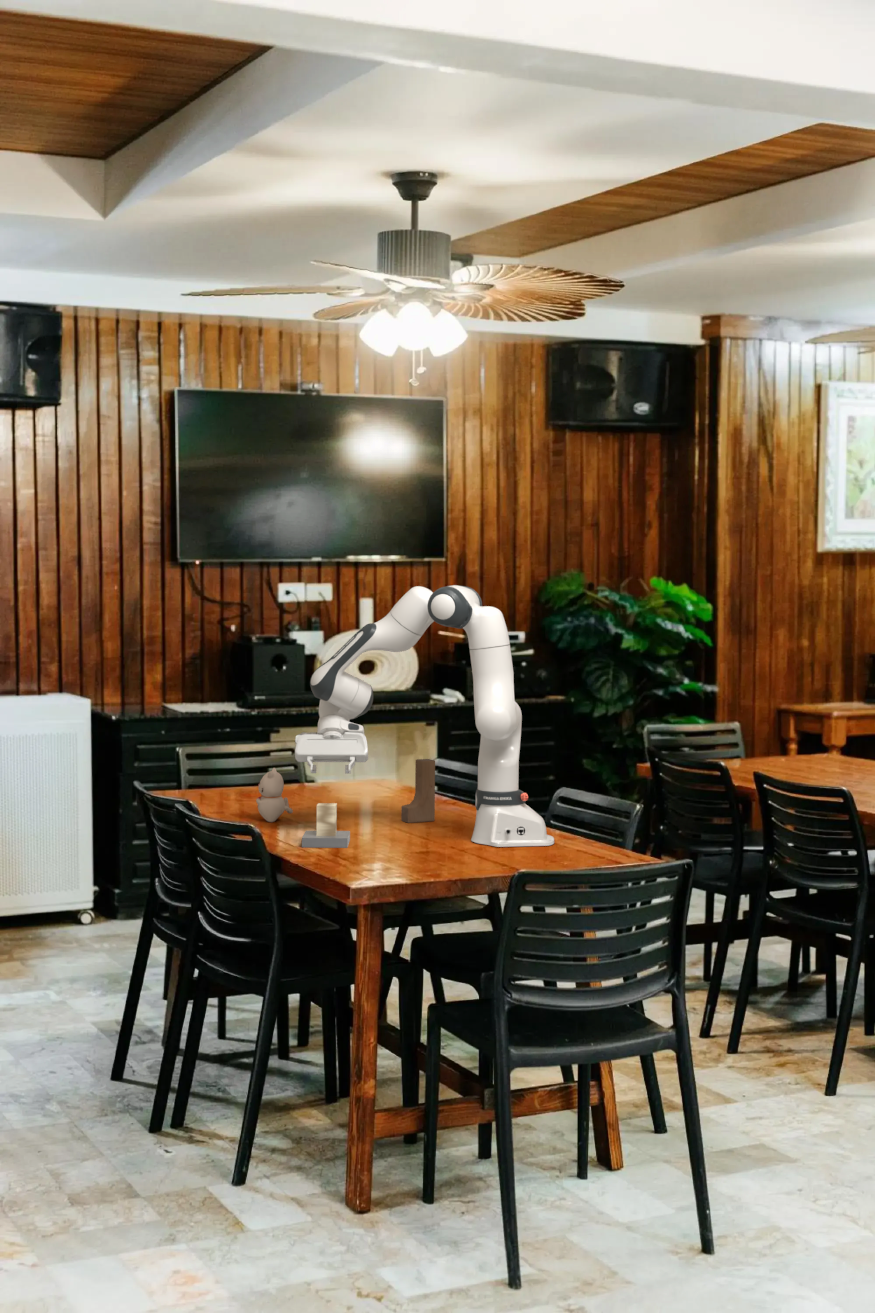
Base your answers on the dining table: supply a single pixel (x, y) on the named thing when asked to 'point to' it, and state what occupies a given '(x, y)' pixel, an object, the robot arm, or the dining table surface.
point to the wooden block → (422, 794)
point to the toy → (272, 796)
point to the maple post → (326, 819)
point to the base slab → (326, 840)
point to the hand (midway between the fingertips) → (330, 772)
